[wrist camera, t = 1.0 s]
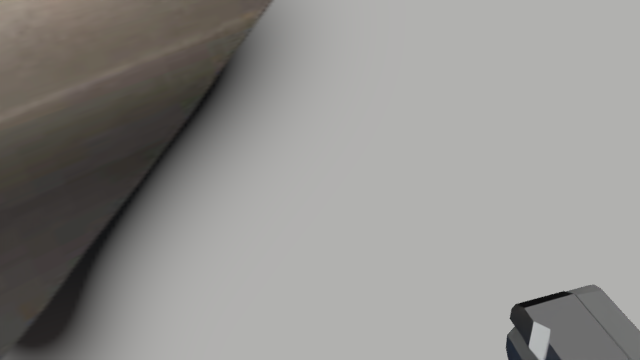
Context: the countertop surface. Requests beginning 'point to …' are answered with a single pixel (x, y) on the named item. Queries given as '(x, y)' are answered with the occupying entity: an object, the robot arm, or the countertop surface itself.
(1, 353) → the countertop surface
